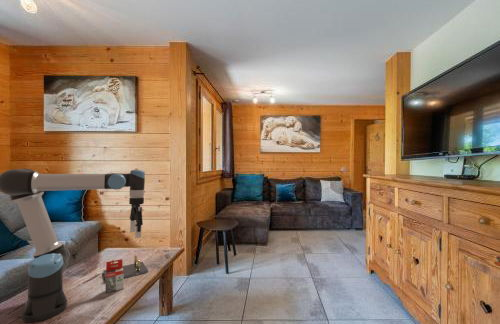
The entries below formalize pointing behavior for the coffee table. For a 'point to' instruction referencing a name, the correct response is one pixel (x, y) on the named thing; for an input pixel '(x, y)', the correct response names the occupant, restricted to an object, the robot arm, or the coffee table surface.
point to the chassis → (132, 269)
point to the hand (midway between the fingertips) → (135, 234)
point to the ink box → (114, 276)
